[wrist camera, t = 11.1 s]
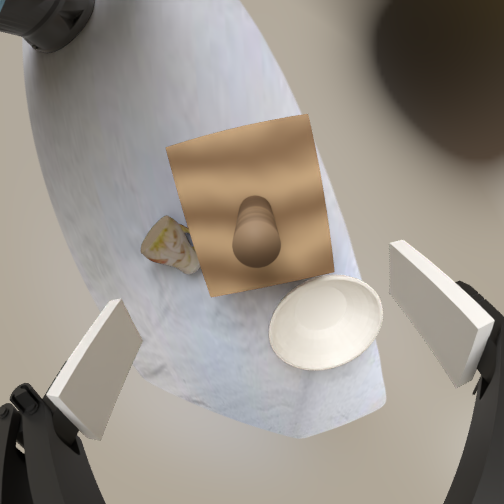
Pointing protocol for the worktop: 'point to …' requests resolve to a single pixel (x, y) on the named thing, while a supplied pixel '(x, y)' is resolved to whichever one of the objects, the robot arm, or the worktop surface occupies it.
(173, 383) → the worktop surface
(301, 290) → the bowl
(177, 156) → the wooden block with knob
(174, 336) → the worktop surface
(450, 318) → the robot arm
